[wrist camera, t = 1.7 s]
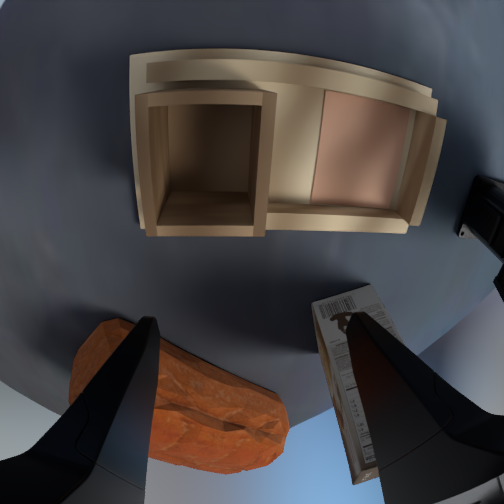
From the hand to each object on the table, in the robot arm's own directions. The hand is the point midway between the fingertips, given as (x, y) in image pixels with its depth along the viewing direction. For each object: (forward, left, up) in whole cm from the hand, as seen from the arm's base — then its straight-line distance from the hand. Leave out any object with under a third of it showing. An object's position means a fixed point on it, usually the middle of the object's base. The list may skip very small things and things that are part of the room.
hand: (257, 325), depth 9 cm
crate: (+2, -3, -11) cm, 12 cm away
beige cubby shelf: (-3, -3, -12) cm, 13 cm away
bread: (+6, +26, -13) cm, 29 cm away
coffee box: (-11, +14, -12) cm, 22 cm away
